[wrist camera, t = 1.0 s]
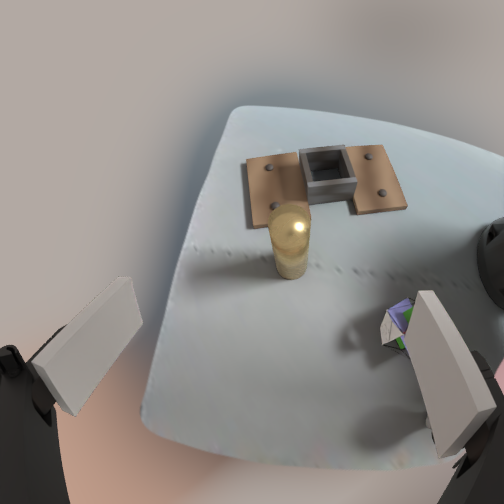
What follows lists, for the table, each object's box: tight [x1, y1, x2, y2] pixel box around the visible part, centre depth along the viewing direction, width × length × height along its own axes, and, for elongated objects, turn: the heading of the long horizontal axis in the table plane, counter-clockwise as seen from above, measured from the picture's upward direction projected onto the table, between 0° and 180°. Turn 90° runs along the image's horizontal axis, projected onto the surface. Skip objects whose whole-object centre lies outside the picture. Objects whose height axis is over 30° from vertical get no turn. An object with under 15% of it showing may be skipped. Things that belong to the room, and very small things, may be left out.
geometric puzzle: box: [380, 297, 416, 354], centre depth 29 cm, size 7×7×8 cm
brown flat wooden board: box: [246, 145, 408, 229], centre depth 40 cm, size 23×12×4 cm, turn 95°
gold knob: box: [268, 204, 311, 280], centre depth 32 cm, size 4×4×12 cm
